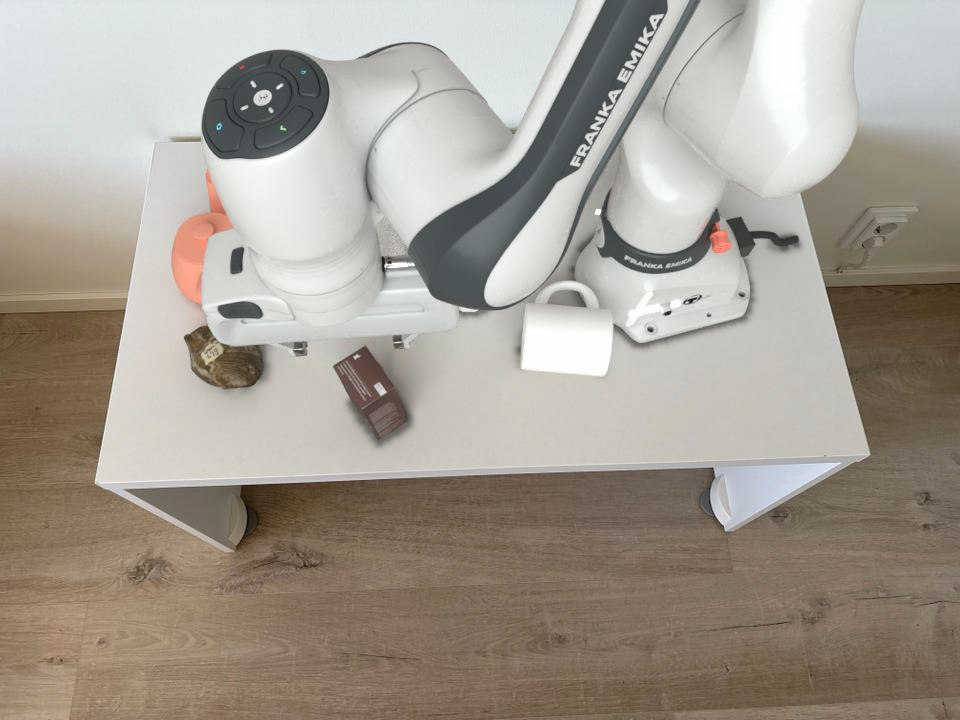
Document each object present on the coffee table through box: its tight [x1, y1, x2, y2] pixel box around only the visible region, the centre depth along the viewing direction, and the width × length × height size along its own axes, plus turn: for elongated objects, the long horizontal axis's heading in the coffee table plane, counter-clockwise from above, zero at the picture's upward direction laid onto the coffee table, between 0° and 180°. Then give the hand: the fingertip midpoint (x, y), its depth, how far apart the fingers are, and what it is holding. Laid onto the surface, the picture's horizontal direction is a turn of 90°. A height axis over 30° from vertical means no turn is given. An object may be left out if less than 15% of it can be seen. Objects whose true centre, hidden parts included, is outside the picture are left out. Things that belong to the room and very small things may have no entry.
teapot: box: [170, 168, 233, 306], centre depth 82 cm, size 12×18×10 cm
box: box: [332, 345, 408, 441], centre depth 73 cm, size 6×4×12 cm
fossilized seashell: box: [183, 325, 264, 391], centre depth 79 cm, size 8×7×10 cm
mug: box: [519, 280, 614, 377], centre depth 79 cm, size 12×10×8 cm
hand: (351, 345), depth 61 cm, fingers open, 8 cm apart
